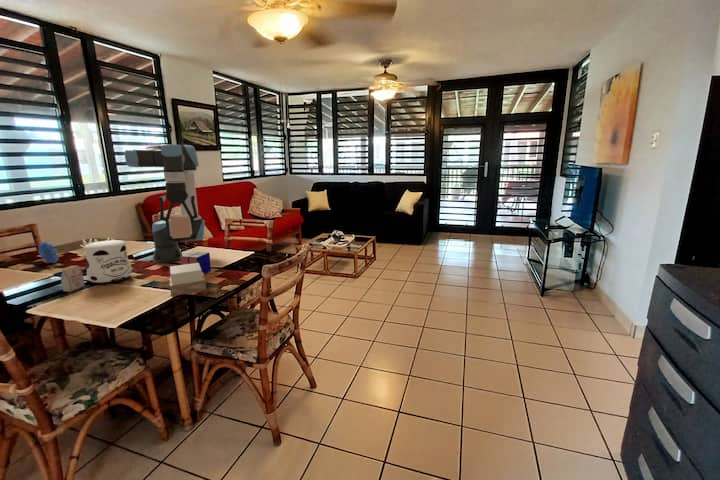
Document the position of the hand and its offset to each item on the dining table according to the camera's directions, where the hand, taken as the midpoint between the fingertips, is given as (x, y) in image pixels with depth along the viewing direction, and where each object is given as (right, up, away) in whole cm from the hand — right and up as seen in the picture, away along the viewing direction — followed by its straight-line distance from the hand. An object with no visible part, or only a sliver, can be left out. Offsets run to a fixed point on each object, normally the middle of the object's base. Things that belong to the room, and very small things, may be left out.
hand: (181, 234), depth 147 cm
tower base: (0, -25, +6) cm, 26 cm away
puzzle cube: (-6, -20, +26) cm, 33 cm away
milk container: (-42, -22, +15) cm, 49 cm away
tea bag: (-50, -24, +4) cm, 56 cm away
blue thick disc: (-94, -16, +38) cm, 102 cm away
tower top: (0, -20, +5) cm, 21 cm away
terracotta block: (0, -1, 0) cm, 1 cm away
